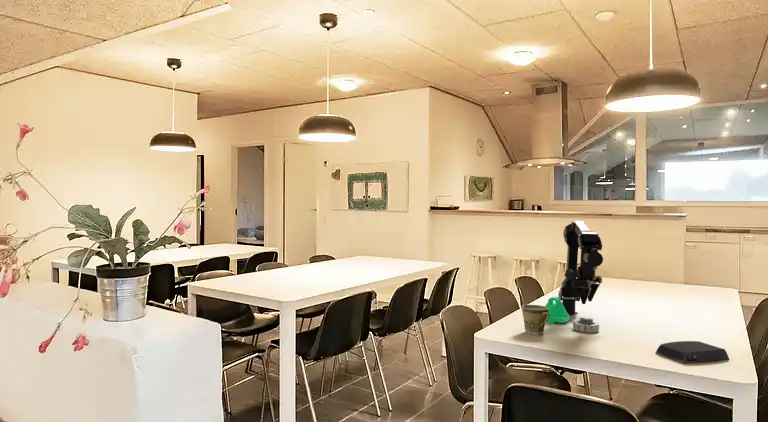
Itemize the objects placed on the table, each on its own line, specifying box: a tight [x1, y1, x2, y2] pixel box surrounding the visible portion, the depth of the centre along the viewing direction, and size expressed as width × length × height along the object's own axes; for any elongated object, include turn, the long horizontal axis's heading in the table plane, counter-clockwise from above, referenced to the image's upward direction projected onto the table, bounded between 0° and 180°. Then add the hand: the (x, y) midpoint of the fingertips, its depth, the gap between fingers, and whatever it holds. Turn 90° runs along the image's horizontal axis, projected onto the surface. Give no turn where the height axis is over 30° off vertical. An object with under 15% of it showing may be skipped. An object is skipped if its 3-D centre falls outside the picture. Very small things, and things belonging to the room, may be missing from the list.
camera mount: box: [544, 295, 570, 324], centre depth 222 cm, size 12×8×10 cm, turn 50°
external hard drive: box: [655, 340, 730, 365], centre depth 175 cm, size 13×19×4 cm
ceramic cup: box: [521, 304, 550, 336], centre depth 200 cm, size 13×10×10 cm
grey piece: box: [572, 319, 600, 334], centre depth 208 cm, size 10×10×3 cm
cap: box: [579, 317, 594, 325], centre depth 208 cm, size 5×5×4 cm
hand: (586, 302), depth 208 cm, fingers open, 7 cm apart
